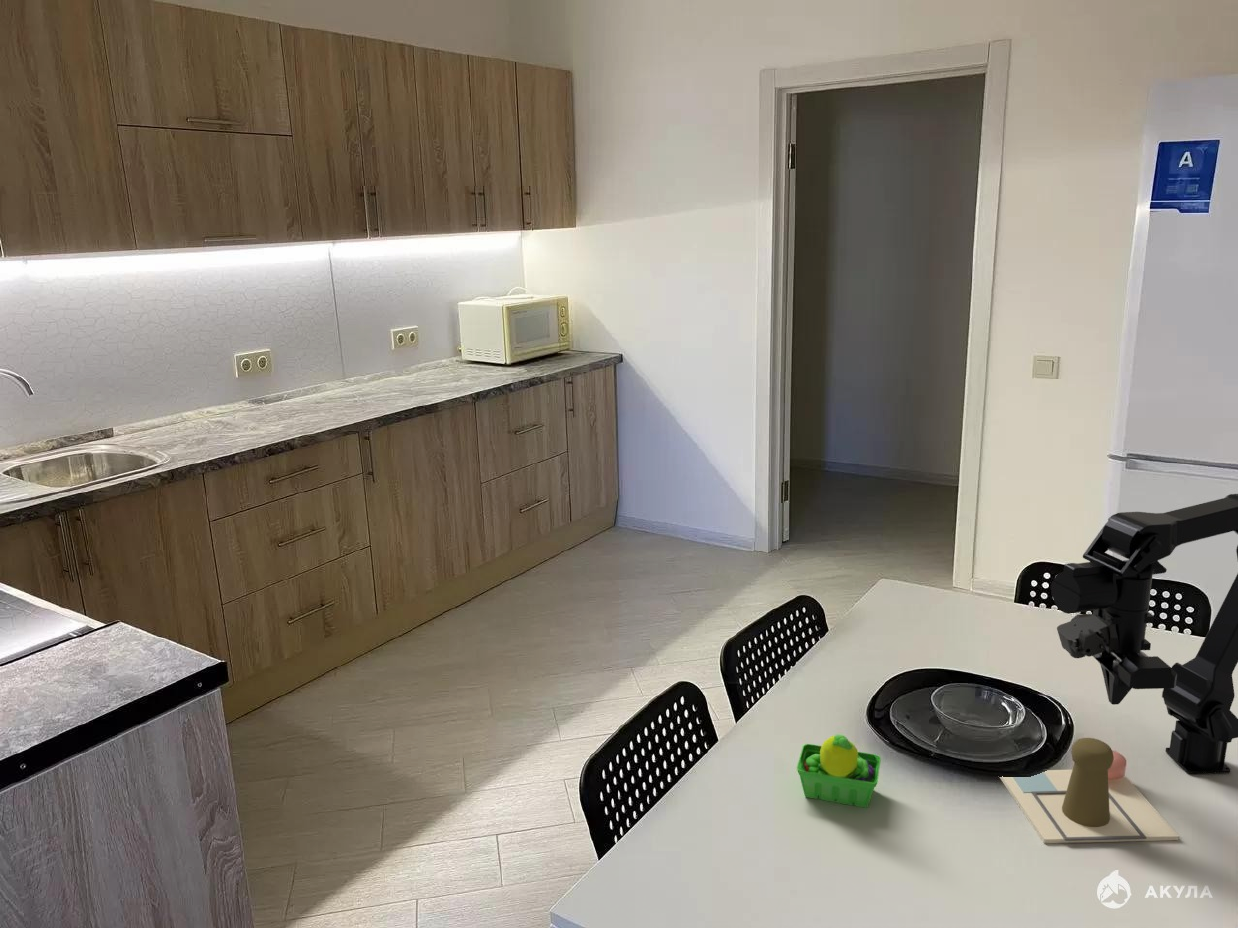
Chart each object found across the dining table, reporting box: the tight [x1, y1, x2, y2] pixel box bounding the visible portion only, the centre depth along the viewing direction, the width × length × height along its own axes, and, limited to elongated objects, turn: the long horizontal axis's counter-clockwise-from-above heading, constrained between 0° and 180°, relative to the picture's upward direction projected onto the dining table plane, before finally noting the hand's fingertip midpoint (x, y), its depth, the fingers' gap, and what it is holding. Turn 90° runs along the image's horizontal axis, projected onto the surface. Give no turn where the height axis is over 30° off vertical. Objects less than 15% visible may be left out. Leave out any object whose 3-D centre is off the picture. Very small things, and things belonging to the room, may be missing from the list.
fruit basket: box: [796, 734, 882, 809], centre depth 138 cm, size 11×9×11 cm
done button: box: [1108, 749, 1127, 779], centre depth 140 cm, size 5×5×2 cm
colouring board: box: [999, 769, 1180, 844], centre depth 135 cm, size 18×16×1 cm
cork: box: [1062, 737, 1114, 827], centre depth 131 cm, size 6×6×11 cm
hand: (1113, 703), depth 138 cm, fingers closed
